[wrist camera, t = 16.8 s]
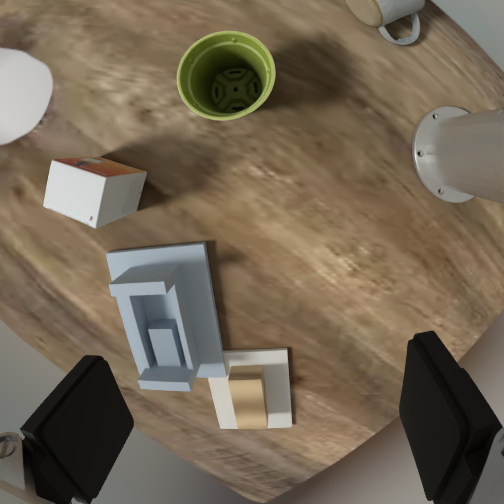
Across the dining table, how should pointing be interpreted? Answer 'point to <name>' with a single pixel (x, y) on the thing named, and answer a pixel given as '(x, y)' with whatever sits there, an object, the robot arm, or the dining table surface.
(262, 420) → the oak block
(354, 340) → the dining table surface
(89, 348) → the dining table surface
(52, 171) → the small box
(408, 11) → the ceramic mug
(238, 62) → the plant pot
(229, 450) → the dining table surface
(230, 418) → the mat
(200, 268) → the jig
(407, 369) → the robot arm
